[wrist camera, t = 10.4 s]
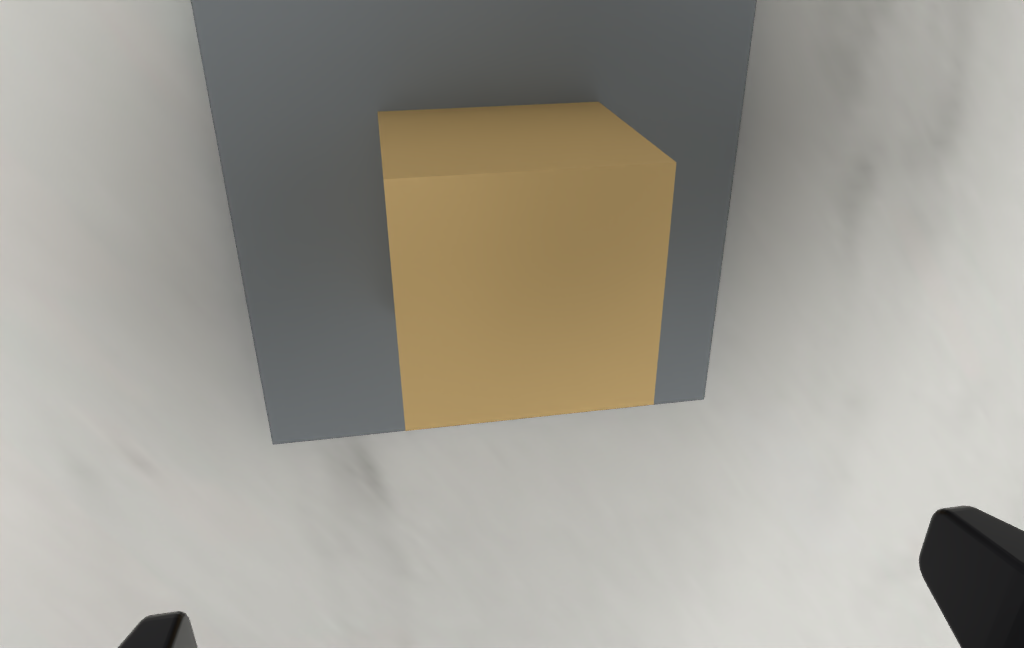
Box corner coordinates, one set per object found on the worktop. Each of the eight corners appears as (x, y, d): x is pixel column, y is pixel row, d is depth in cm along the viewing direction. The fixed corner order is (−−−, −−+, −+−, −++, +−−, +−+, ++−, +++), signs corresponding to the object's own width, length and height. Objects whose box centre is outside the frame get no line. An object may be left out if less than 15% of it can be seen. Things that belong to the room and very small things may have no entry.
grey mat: (693, 384, 23) (703, 399, 22) (275, 427, 21) (272, 444, 20) (749, -70, 17) (765, -70, 17) (186, -65, 16) (179, -64, 15)
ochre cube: (589, 298, 20) (653, 404, 16) (395, 314, 19) (405, 431, 15) (598, 101, 18) (676, 162, 13) (377, 111, 17) (383, 179, 13)
